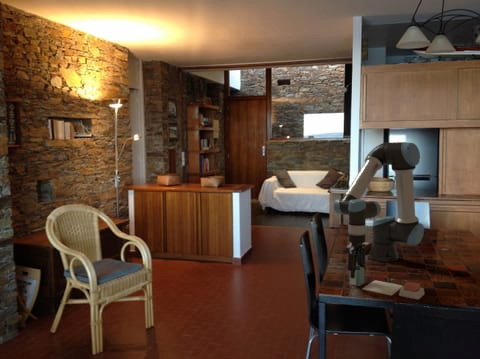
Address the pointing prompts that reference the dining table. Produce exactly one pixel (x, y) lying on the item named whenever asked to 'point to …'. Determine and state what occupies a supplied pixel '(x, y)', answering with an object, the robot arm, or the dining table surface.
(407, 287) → the button
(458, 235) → the dining table surface
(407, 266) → the dining table surface
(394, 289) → the note pad
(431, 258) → the dining table surface
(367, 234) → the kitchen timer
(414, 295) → the button base
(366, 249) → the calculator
